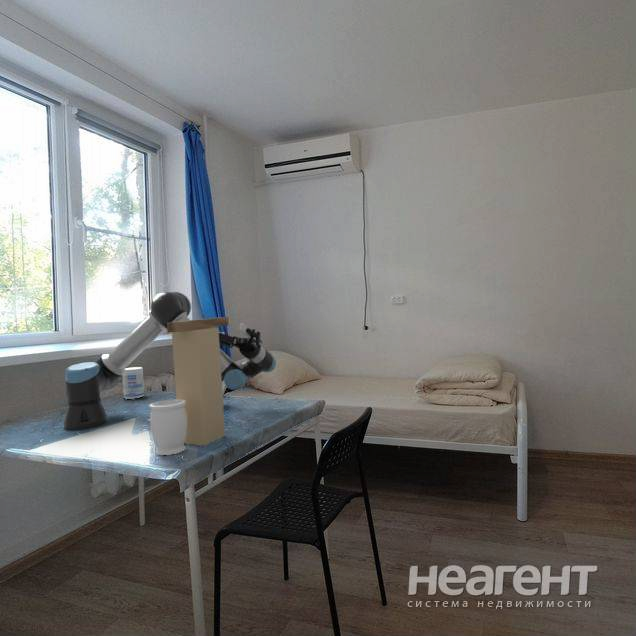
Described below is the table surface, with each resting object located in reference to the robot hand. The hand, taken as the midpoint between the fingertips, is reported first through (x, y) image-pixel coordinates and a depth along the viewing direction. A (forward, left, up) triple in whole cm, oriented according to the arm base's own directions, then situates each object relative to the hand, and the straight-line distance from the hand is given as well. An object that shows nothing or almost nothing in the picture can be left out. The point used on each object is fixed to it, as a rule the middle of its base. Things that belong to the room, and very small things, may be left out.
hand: (224, 326), depth 169 cm
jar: (-2, -29, -36) cm, 46 cm away
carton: (0, -16, -36) cm, 39 cm away
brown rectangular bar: (0, -14, 0) cm, 14 cm away
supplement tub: (-79, +36, -36) cm, 94 cm away
